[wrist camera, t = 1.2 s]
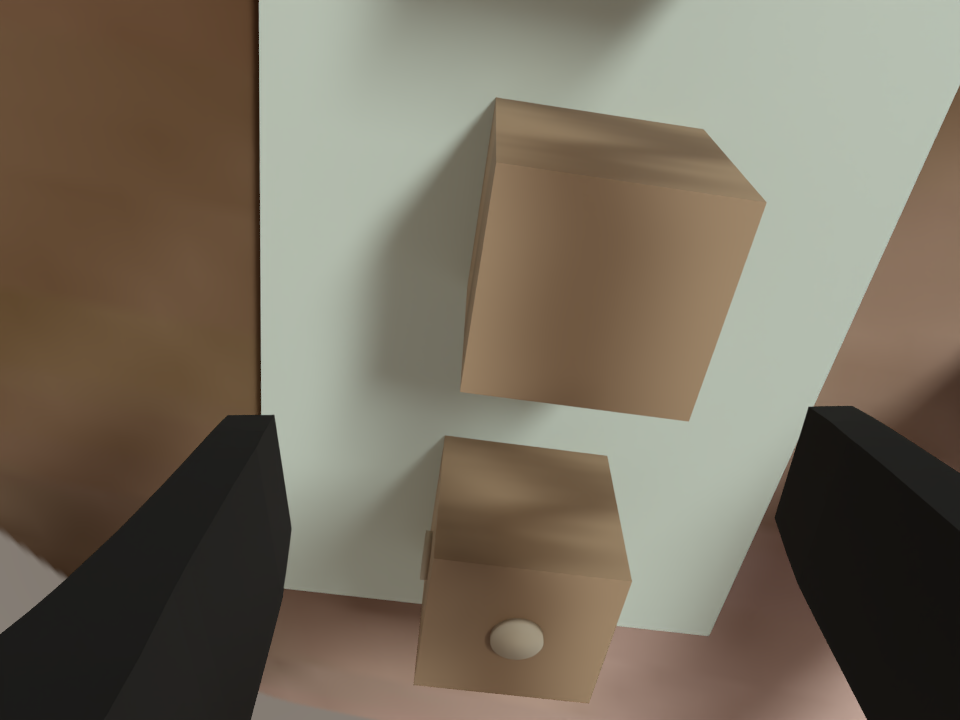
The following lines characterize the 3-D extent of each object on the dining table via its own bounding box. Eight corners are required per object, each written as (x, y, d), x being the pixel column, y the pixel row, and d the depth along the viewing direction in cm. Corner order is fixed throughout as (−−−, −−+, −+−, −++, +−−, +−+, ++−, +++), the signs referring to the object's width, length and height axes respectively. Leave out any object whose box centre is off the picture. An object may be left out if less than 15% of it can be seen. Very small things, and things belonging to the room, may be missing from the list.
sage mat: (1254, -597, 12) (1275, -610, 12) (706, 626, 28) (709, 636, 28) (260, -817, 12) (254, -839, 11) (265, 577, 27) (262, 586, 27)
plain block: (703, 129, 18) (766, 202, 14) (649, 312, 21) (689, 421, 17) (495, 97, 18) (496, 162, 14) (466, 287, 21) (459, 391, 16)
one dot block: (607, 455, 24) (633, 587, 19) (573, 570, 26) (589, 709, 22) (438, 434, 23) (425, 563, 19) (421, 552, 26) (405, 690, 21)
